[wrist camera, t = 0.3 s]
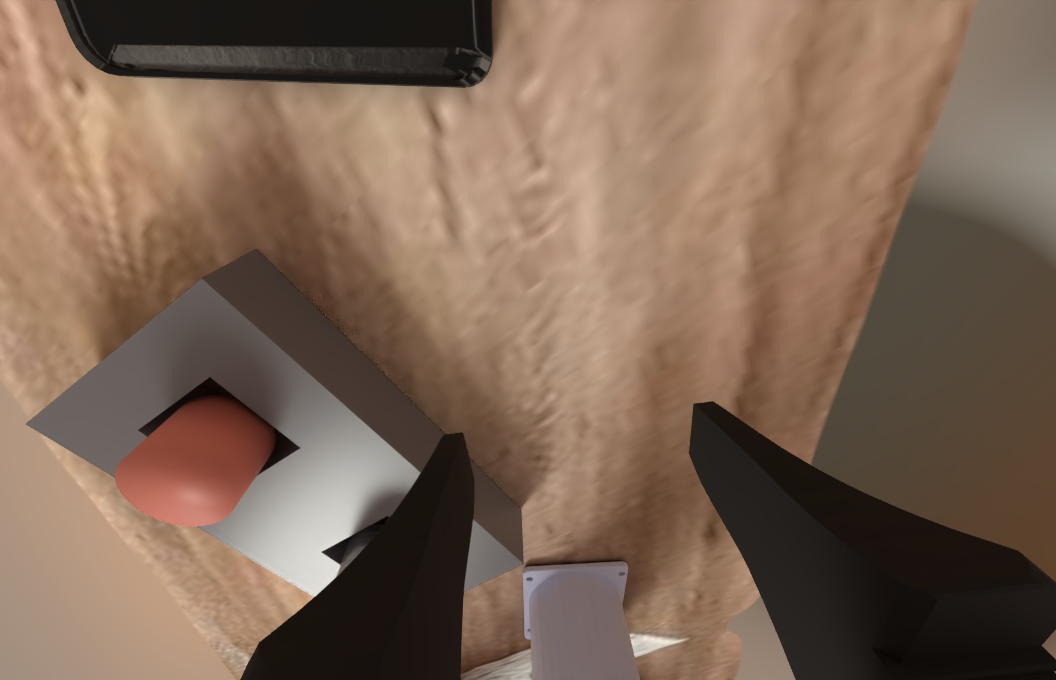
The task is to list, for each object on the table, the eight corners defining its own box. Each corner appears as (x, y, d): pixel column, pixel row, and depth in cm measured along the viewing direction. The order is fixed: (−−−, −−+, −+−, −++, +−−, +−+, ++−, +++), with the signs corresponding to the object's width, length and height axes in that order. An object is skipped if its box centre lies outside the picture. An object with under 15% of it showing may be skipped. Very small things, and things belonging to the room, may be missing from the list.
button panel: (521, 508, 29) (523, 563, 25) (389, 575, 31) (374, 633, 28) (256, 248, 19) (201, 278, 16) (101, 374, 22) (25, 424, 19)
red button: (295, 440, 20) (258, 497, 17) (235, 478, 21) (190, 539, 18) (218, 378, 19) (161, 431, 15) (155, 424, 20) (90, 482, 16)
